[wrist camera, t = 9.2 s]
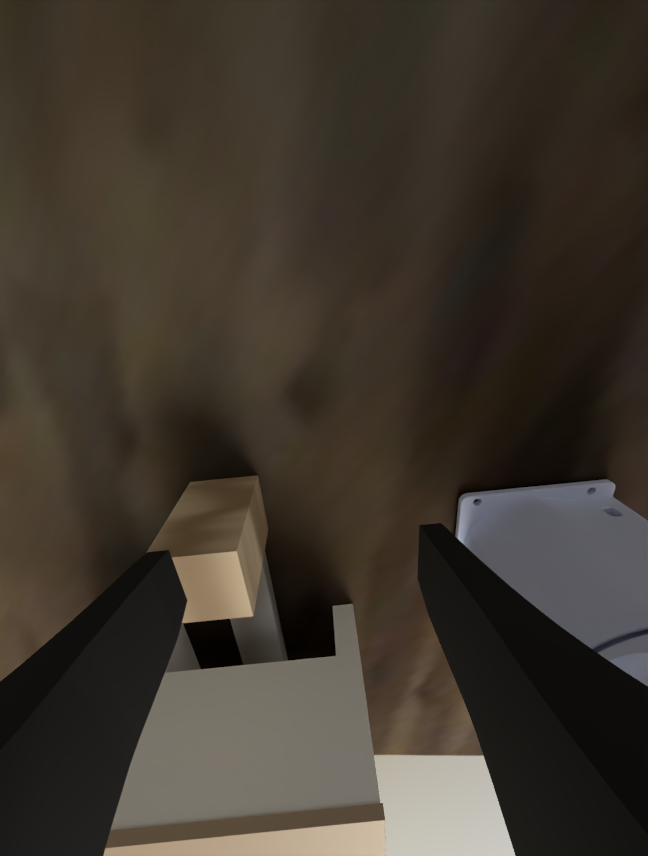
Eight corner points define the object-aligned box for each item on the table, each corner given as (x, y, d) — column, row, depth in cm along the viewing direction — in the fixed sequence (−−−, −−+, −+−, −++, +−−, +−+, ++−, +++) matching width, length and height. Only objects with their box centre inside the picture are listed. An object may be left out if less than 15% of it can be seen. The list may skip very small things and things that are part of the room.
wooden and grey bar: (257, 475, 19) (236, 551, 14) (298, 680, 27) (295, 780, 21) (190, 481, 19) (141, 560, 14) (250, 685, 27) (235, 786, 21)
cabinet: (354, 602, 24) (385, 820, 14) (360, 686, 28) (387, 899, 18) (159, 622, 24) (55, 853, 14) (194, 702, 28) (132, 925, 18)
